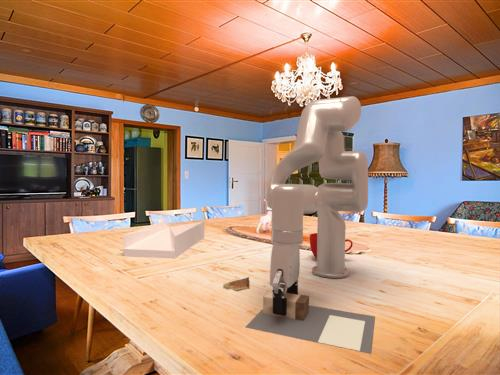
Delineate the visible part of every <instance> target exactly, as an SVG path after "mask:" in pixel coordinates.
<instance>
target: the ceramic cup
mask: <svg viewBox="0 0 500 375" xmlns="http://www.w3.org/2000/svg"><path fill="white" fill-rule="evenodd" d="M346 242H349V243H350V246H349V247H348V248H347V249H346V248H345V253H346V252H348V251H350V250H351V249H352V248H353V245H354V243H353V241H352V240H351V239H348V238H347V239H346V238H345V243H346ZM309 247H310V250H311V253H312V255H313V256H314V257H315V259H316V260H317V233H315V232H314V233H311V234H309Z"/></svg>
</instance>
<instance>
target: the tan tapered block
mask: <svg viewBox="0 0 500 375" xmlns="http://www.w3.org/2000/svg"><path fill="white" fill-rule="evenodd" d="M282 293H283V291H282ZM285 298H287V314H286V316H282V315H277V314H273V292H272V290H271V289H270V290H269V291H267V293H266V294H265V295H264V296H263V297H262V309H263V313H265V314H270V315H275V316H281V317H286V318H291V319H296V320H301V321H304V319H305V318H306V316H307V315H308V313H309V305H310V295H305V294H298V295H297V294H290V293H286V297H285Z"/></svg>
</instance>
